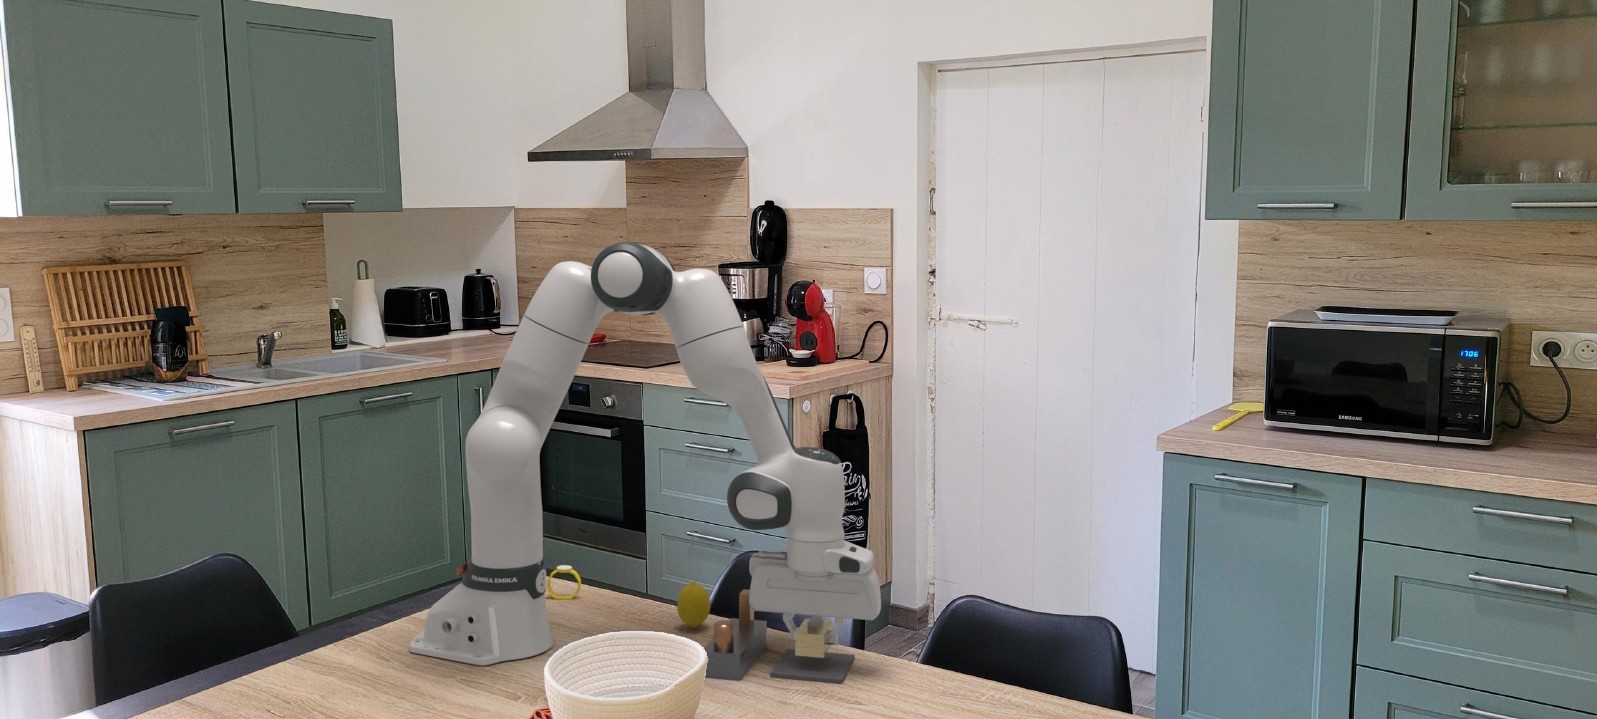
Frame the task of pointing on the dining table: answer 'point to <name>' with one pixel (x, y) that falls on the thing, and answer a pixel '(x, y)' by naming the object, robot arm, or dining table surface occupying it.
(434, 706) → the dining table surface
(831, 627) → the lever cap
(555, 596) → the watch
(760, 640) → the plane body
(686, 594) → the lemon
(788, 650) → the rubber mat
